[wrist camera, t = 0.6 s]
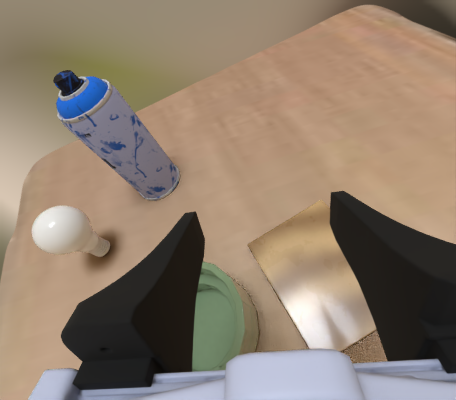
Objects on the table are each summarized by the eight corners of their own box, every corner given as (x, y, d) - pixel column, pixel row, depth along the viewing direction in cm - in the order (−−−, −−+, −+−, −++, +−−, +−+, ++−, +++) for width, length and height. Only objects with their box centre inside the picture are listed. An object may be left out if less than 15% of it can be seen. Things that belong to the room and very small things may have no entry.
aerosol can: (133, 182, 44) (26, 84, 28) (168, 156, 45) (83, 46, 28) (149, 209, 39) (33, 111, 23) (188, 179, 40) (102, 64, 24)
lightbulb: (130, 235, 38) (73, 200, 29) (109, 275, 35) (39, 250, 26) (102, 227, 40) (41, 193, 32) (80, 264, 38) (8, 238, 29)
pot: (280, 354, 24) (269, 356, 19) (183, 414, 24) (142, 434, 18) (230, 260, 31) (211, 239, 25) (154, 306, 31) (117, 296, 25)
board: (416, 304, 23) (419, 303, 22) (318, 365, 23) (319, 365, 22) (321, 202, 31) (321, 199, 31) (248, 246, 31) (247, 244, 31)
